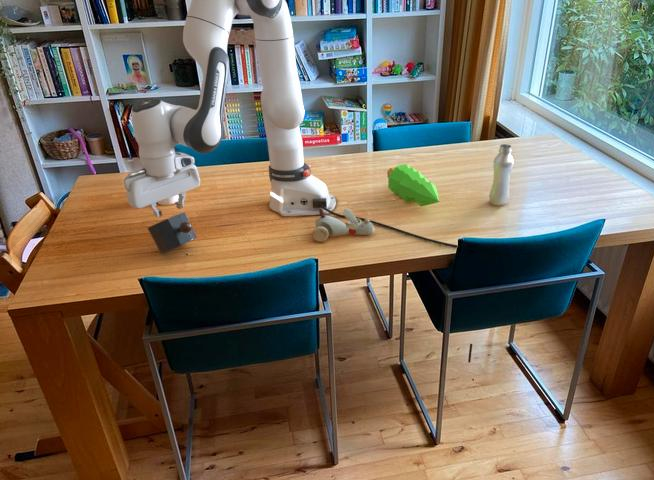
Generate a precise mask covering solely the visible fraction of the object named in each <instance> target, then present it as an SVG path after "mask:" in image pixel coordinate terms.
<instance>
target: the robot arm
mask: <svg viewBox="0 0 654 480" xmlns="http://www.w3.org/2000/svg"><path fill="white" fill-rule="evenodd" d="M236 15H239V16H249V17H250V18H251V20H252V23H253V34H254V40H255V50H256V58H257V65H258V70H259V75H260V80H261V84H262V89H261V93H260V105H261V113H262V120H263V125H264V131H265V136H266V141H267V142H266V143H267V151H268V159H269V165H268V176H269V181H270V197H269V204H268V207H269V209H271V210H272V211H274V212H276V213H278V214H279V215H280V216H281V217H297V216H298V217H299V216H317V215H318V216H319V215H320V212H319V209H320V208H321V209H322V210H323V212H324V214H325V215H328V214H331V215H334V216H336V217H339V218H343V219H347V218H346V217H345V216H344V215H343V214H341V213H336V212H335V211H333V210H334V209H335V208H336V205H337V200H336V199H337V198H336V197H335V196H334V195H333V194H330V193H329V189H328V186H327V184H326V182H324V181H322V180H321V179H319V178H317V177H316V176H315V175H313V174H312V173H311V171H312V170H311V167H312V166H311V163H309V164H307V163H305V160H304V159H305V158H304V145H303V137H302V133H301V132H302V131H301V128H300V125H301V124H302V123H303V121H304V120H305V119H304V118H305V107H304V100H303V99H304V98H303V95H302V88H301V82H300V76H299V72H298V68H297V60H296V50H295V49H296V48H295V39H294V30H293V23H292V17H291V14H290V10H289V7H288V3H287V2H286V0H191V2H190V5H189V8H188V11H187V14H186V17H185V22H184V26H183V30H182V43H183V45H184V48H185V50H186V51H187V53H188V55H189V56H190V57H191V58H192V59H193V60H194V61H195V62H196V63H197V64H198V66H199V67H200V69H201V73H202V81H201V88H200V95H199V101H198V106H197V108H196V109H194V108H191V107H188V106H183V105H180V104H179V105H178V104H172V103H168V102H165V101H163V100H162V99H160V98H159V97H157V98H156V97H150V98H144V99H141V100H138V101H137V102H136V103H135V104H133V106H132V107H131V112H130V113H131V125H132V130H133V135H134V139H135V142H136V143H137V145H138V157H139V161H140V165H141V169H139V170H136V171H133V172H129V173H128V174H127V175H126V176H125V177H124V179H123V184H124V188H125V189H126V190H125V191H126V192H125V193H126V199H127V203H128V205H129V206H131V207H132V208H134V209H135V210H136V209H137V210H140V209H142V208H145V207H148V208H150V209H151V211H152V212H153V215H154V217H155V218H160V217H163V211H162V210H161V209H160V208H157V203H158V202H159V201H162V200H165V199H167V198H170V197H173V196H176V195H178V197H179V198H178V201H177V202H176V203H175V206H176V208H177V209H179V210H181V209H184V208H185V203H184V202H185V200H186V197H187V192H189V191H192V190H195V189H198V188H199V187H200V185H201V178H200V173H199V170H198V167H197V166H196V165H195V158H194V156H191V155H190V154H188V153H185V152H182V151H181V152H180V151H176V149H175V147H176V146H178V145H182V146H184V147H187V148H190V149H191V150H194V151H195V152H197V153H200V154H208V153H211V152H213V151H215V149H217V148H218V147H219V145H220V144H221V141H222V140H223V136H224V120H223V117H224V108H225V102H226V95H227V89H228V81H229V74H230V59H229V55H228V44H229V38H230V34H231V31H232V26H233V20H234V18H235V17H236ZM355 217H356V218H358V219H360V220H361V221H362V222H365V219H366V218H363V217H359V216H355ZM369 222H371V223H372V224H373V225H376V226H380V227H383V228H387V229H389V230H393V231H395V232H399V233H401V234H404V235H408V236H410V237H413V238H416V239H420V240H423V241H426V242H430V243H434V244H439V245H442V246H446V247H450V248H456V249H458V248H457V245H458V244H452V243H449V242H443V241H440V240H435V239H432V238H428V237H424V236H421V235H417V234H416V233H415V234H414V233H412V232H408V231H406V230H402V229H400V228H396V227H394V226H392V225H391V226H390V225H388V224H384V223H381V222H378V221H374V220H371V219H369ZM472 350H473V343H470V344H469V351H468V359H467V363H468V364H470V363H471V362H472V361H471V360H472Z"/></svg>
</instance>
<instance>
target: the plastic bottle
mask: <svg viewBox="0 0 654 480" xmlns="http://www.w3.org/2000/svg"><path fill="white" fill-rule="evenodd" d="M511 153H512V145H510V144H505V143H504V144H500V145H499V149H498V154H497V155H496V156H495V157H494V159H493V164H492V165H493V175H492V176H493V178H492V184H491V189H490V191H489V195H488V199H489V202H490V203H491V204H492V205H494V206H504V205H506V204H507V203H508V202H509V198H510V179H511V174H512V170H513V167H514V158H513V156H512V155H511Z"/></svg>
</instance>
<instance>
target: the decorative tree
mask: <svg viewBox="0 0 654 480" xmlns="http://www.w3.org/2000/svg"><path fill="white" fill-rule="evenodd" d="M386 171H387V172H386V174H387V175H386V177H387V178H388V181H387V182H388V183H387V184H388V185H387V187H388V189H389V190H390V191H391V192H392V193H393V194H395V195H397V196H398V197H399V198H400V199H402V200H403V201H404V202H405V203H411V202H412V203H415V204H417V205H418V206H419V207H421V208H422V207H425V206H430V205H434V204H436V203H440V199H439V198H440V197H439V193H438V190H437V186H436V185H435V184H434V183H432V181H429V180H428V179H427V178H426V177H425V176H424V175H423V174H422V173H421V172H420V171H417V170H416V169H415V168H414V167H411V166H410V165H409V164H408V163H405V164H400V165H396V166H395V167H390V168H389V169H388V170H386Z"/></svg>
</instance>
